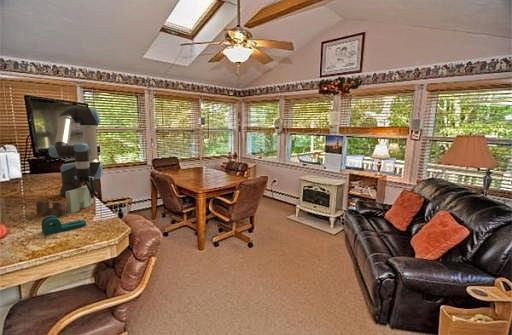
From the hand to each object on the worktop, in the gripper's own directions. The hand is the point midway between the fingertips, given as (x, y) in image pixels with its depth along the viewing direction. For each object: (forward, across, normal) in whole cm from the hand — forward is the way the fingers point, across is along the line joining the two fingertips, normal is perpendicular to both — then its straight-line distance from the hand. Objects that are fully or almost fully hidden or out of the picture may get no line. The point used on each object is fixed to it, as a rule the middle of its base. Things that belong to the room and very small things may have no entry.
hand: (85, 202), depth 170 cm
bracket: (+3, +17, -35) cm, 39 cm away
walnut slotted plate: (+3, -7, -18) cm, 20 cm away
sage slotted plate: (+3, 0, -5) cm, 6 cm away
